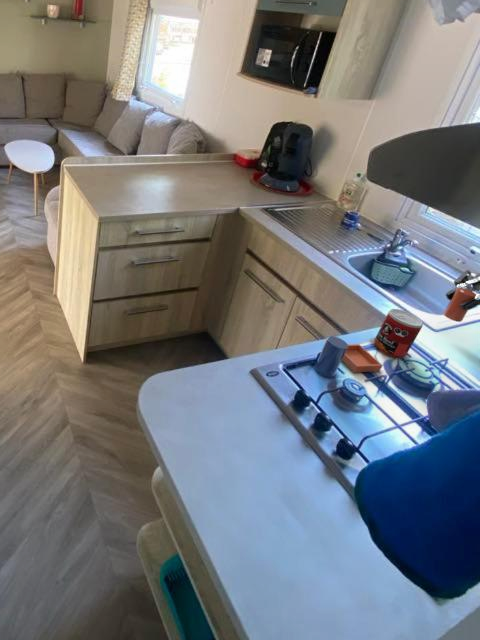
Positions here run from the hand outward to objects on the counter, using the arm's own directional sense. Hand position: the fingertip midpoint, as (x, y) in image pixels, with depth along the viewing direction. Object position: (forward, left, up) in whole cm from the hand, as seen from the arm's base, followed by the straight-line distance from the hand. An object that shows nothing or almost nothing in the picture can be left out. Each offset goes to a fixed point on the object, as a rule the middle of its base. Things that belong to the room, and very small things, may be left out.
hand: (454, 302), depth 124 cm
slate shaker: (-13, +51, -12) cm, 54 cm away
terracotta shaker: (0, -2, -5) cm, 6 cm away
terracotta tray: (-10, +39, -12) cm, 42 cm away
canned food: (-6, +24, -12) cm, 28 cm away
